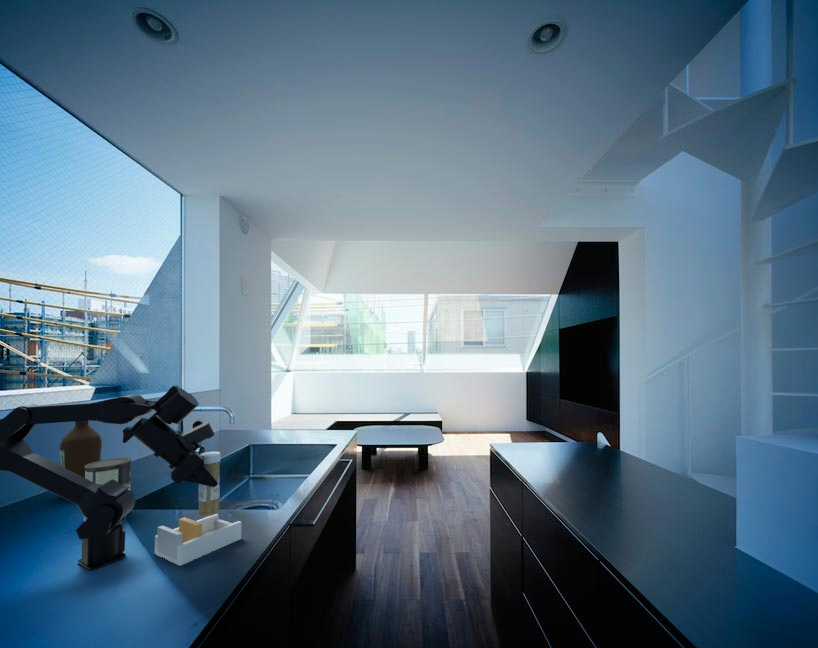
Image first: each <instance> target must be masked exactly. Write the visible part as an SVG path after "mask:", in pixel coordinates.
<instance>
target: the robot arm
mask: <svg viewBox="0 0 818 648" xmlns="http://www.w3.org/2000/svg"><path fill="white" fill-rule="evenodd" d="M197 407H199V402H198V400H197V399H196V397H194V395H193V394H192V393H189V392H188V391H186V390H184V389H182V388H180V387H179V385H176V384H175V385H172V386H171V387H170V388H169V389H168V390H167V392H166V393H165V394H164V395H162V396H161V397H160V398H159V399H158V400H151V399H145V398H144V397H143V396H142V395H140V394H136V393H133V394H128V395H123V396H118V397H113V398H109V399H103V400H100V401H89V402H87V401H85V402H73V403H71V402H70V403H54V404H28V405H22V406H17V407H16V408H14V409H13V410H11V411H10V412H9V413H8V414H7V415H6V416H4V417H3V418H2V419H0V472H7V473H11V474H13V475H15V476H17V477H19V478H21V479H23V480H25V481H27V482H30V483H32V484H34V485H36V486H37V487H39V488H42V489H44V490H45V491H48V492H50V493H52V494H54V495H57V496H59V497H61V498H62V499H65V500H67V501H69V502H71V503H72V504H75V505H76V506H77V507H78V509H79V510H80V512H81V514H82V515H83V517H84V516H85V517H86V518H87V520H86V521H83V523H81V524H80V525H79V526H78V527H77V528H76V529H75V531H76V534H77V536H78V539H79V540H81V558H80V559H78V560H77V564H79V565H81V566H82V567H84V569H87V570H88V571H93V570H95V569H99V568H101V567H103V566H106V565H108V564H111V563H113V562H116V561H118V560H121V559H124V558H126V557H127V554H126V553H124V552H125V551H126V532H125V530H124V526H123V524H122V523H123V522H124V521H125V520H126V517H127V515H128V514H129V513H131V511H133V509H134V507H135V505H136V498H135V496H136V495H135V494H134V492H132V491H131V486H130V487H129V486H124V485H121V484H120V483H118V482H117V481H116V480H113V479H111V480H110V481H108V482H106V483H105V484H97V483H94V482H92V481H90V480H88V479H86V478H84V477H82V476H80V475H78V474H76V473H74V472H72V471H70V470H68V469H66V468H64V467H62V466H60V464H57V463H55V462H53V461H51V460H49V459H47V458H46V457H43V456H42V455H39V454H37V453H35V452H34V451H33V450H32V449H31V447H30V446H29V444H28V442H27V441H26V440H25V438H28V436H29V435H30V434H31V432H32V430H33V429H34V427H35V426H36V425H40V424H42V425H43V424H57V423H71V422H75V421H88V420H89V421H90V422H91V421H92V422H99V423H103V424H113V425H115V424H116V425H124V424H128V423H130V422H133V421H136V423H134V425H132V426H130V427H129V426H126V427H124V429H122V435H123V436H122V443H123V444H126V443H127V442H129V441H130V440H131V439H132V438H133V437H134V438H135V439H137V440H138V441H139V442H141V443H142V444H143V445H144V446H145V447H147V448H148V449H149V450H150V451H152V452H153V455H154V456H155V457H156V458H158V457H159V458H160V459H162V460H163V461H164V462H165V463H167V464H168V468H170V469H171V474H170V476H171V477H170V478H171V480H172V481H173V482H174V483H176V484H177V485H179V484H181V483H182V482H183V483H184V482H187V483H192V484H198V485H199V484H201V485H206V486H210V487H216V485H217V484H218V482H217V481H216V480H215V479H214V477H213V476H212V475H211V474H210V472H209V471H208V470H207V469H206V468H205V466H204V456H201V455H200V454H202V453H204V448H203V445H202V443H201V442H203V441H205V440H209V439H210V438H212V437H214V436H215V432H214V430H213V428H212V426H211V424H210V422H209V421H208V420H207V421H204V422H203V421H201V420H200V419H198V420H196V421H194V422H192V428H190V429H188V430H187V431H185V432H182V431H181V430H179V429H178V430H176V429H173V427H171V426H170V425H172V424H176V425H178V424H180V423H181V422H182V421H183V420H185V418H186V417H187V416H189V414H191V413H192V412H194V410H195V409H196V408H197ZM153 412H155V413H153ZM150 413H153V414H152V415H151V416H150V417H149V418H146V417H144V415H147V414H150ZM137 420H138V421H137ZM89 421H88V422H89ZM198 449H200V451H198V452H197V450H198ZM129 488H130V490H128V489H129Z"/></svg>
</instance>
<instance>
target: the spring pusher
mask: <svg viewBox="0 0 818 648" xmlns="http://www.w3.org/2000/svg"><path fill="white" fill-rule="evenodd" d="M178 527H179V532H181V533H183V542H182V543H184V542H187V541H189V540H192V539H194V538H197V537H199V536H202V523H200V522H197V520H194V519H190V518H188V517H185V516H184V517H181V518H179V519H178Z"/></svg>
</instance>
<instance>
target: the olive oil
mask: <svg viewBox="0 0 818 648" xmlns="http://www.w3.org/2000/svg"><path fill="white" fill-rule="evenodd" d="M89 421H90V420H88V421H74V422H75V423H74V424H75V426H74V427H73V428H72V429H71V430H70V431H68V432H67V434H66V435H64V437H63V438H62V439H61V441H60V444H59V465H60V466H62V467H64V468H66V469H68V470H70V471H72V472H74V473H76V474H78V475H80V476H82V477H84V478H85V465H87V464H90V463H93V462H96V461H101V457H102V456H101V455H102V447H103V446H102V444H103V443H102V442H103V441H102V436H101V435H100V434H99V432H97V431H96V430H95V429H94V428H93V427H91V425H89Z"/></svg>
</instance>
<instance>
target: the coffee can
mask: <svg viewBox="0 0 818 648" xmlns="http://www.w3.org/2000/svg"><path fill="white" fill-rule="evenodd" d="M131 464H132V458H129V457H115V458H108V459H102V460H101V459H100V461H96V462H93V463H90V464H87V465H85V478H86V479H88V480H90V481H92V482H94V483H97V484H105V483H106V482H108V481H110V480H111V479H113V480H116V481H117V482H118V483H120V484H121V485H124V486H129V487H130V488H129V489H128V490H130V491H131V476H132V474H131V471H132V469H131V467H132V466H131ZM86 520H87V518H86V517H85V516H84V515H83V522H85V521H86Z"/></svg>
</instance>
